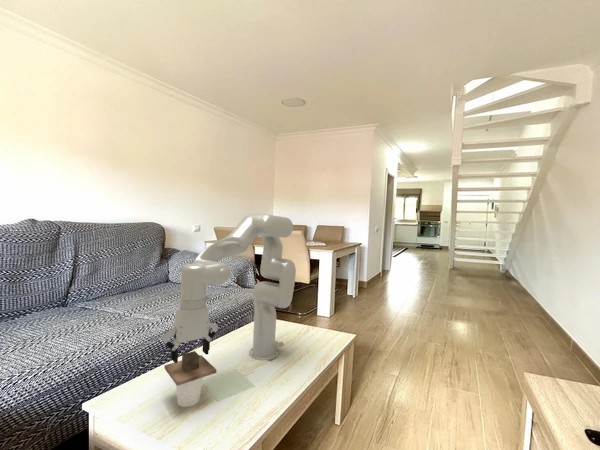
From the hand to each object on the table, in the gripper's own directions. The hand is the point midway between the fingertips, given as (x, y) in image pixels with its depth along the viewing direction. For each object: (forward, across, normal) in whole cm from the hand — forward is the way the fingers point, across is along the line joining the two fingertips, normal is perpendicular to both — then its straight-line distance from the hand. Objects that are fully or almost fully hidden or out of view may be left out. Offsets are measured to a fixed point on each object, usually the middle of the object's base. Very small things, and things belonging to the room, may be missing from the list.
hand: (190, 357), depth 91 cm
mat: (+14, -14, -1) cm, 20 cm away
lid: (+4, 0, 0) cm, 4 cm away
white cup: (+15, 0, 0) cm, 15 cm away
